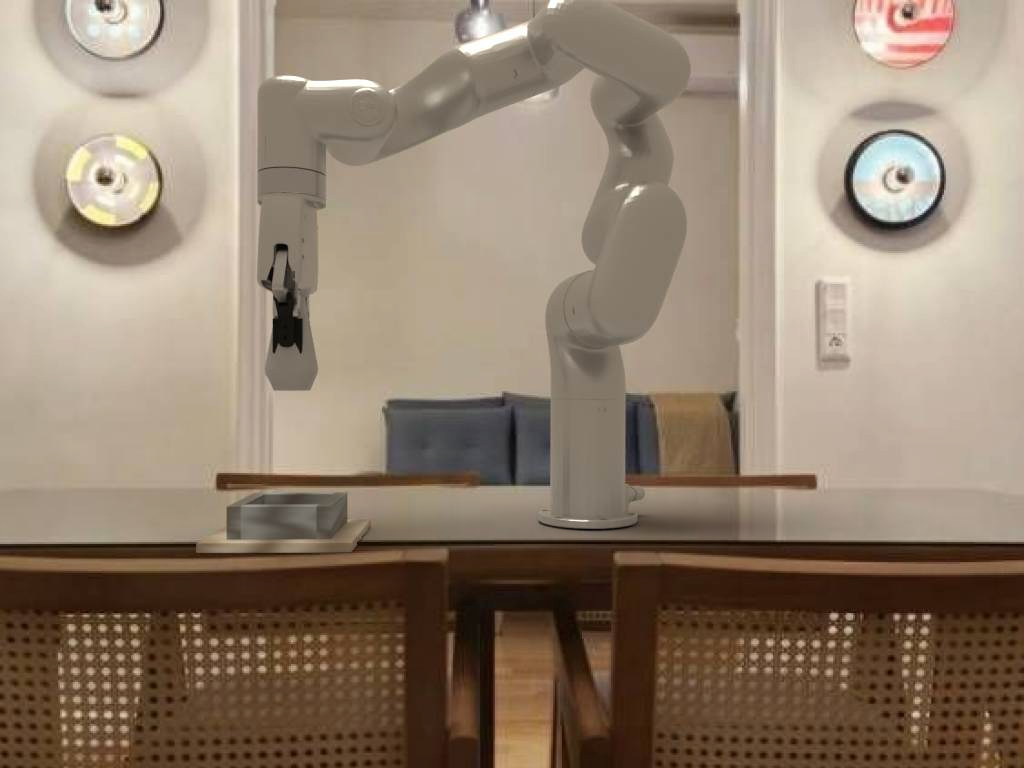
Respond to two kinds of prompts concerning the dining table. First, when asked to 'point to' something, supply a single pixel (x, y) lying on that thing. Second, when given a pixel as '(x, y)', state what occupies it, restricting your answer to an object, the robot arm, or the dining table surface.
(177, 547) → the dining table surface
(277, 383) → the salt shaker
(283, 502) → the holder
